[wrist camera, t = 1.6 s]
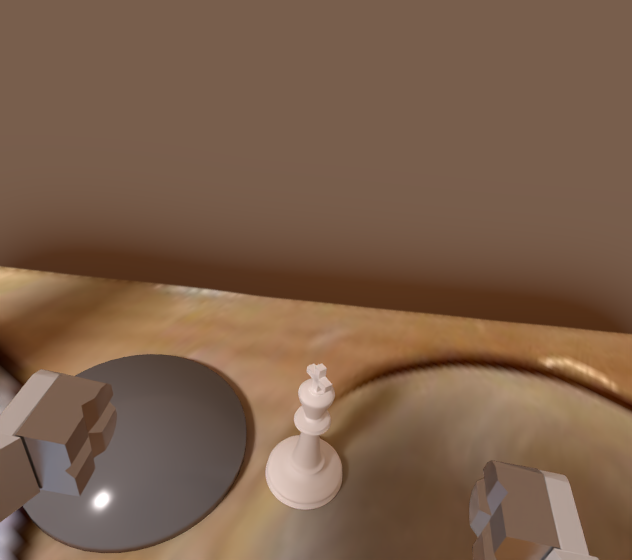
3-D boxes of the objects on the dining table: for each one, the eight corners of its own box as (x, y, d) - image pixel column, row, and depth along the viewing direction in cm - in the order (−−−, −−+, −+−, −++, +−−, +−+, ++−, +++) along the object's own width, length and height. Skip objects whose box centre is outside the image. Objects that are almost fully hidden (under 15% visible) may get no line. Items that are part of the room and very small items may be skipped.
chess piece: (292, 525, 31) (308, 421, 24) (251, 461, 34) (256, 353, 27) (357, 484, 33) (386, 380, 27) (313, 428, 36) (331, 323, 30)
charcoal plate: (266, 379, 39) (266, 372, 38) (210, 575, 28) (210, 569, 27) (86, 347, 40) (84, 340, 39) (-38, 527, 29) (-43, 519, 28)
